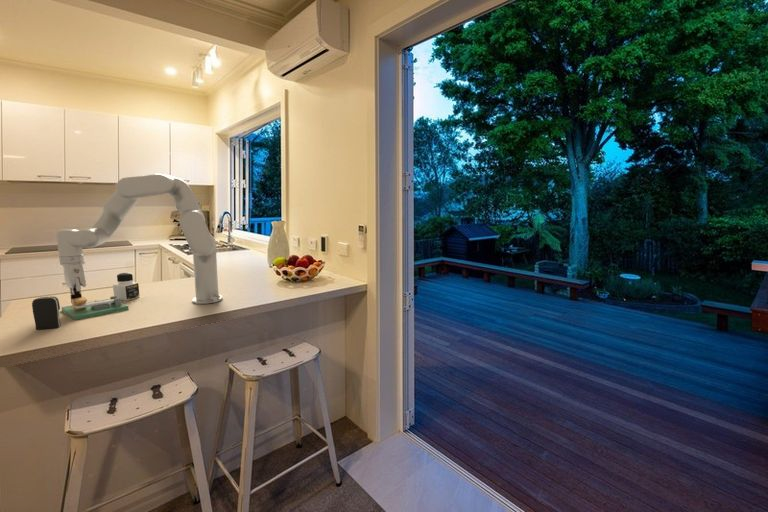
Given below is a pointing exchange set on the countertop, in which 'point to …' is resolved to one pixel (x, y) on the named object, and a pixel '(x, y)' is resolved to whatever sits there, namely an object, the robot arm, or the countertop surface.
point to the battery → (46, 312)
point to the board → (95, 309)
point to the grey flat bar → (95, 303)
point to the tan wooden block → (78, 302)
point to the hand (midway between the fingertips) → (77, 303)
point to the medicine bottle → (126, 287)
